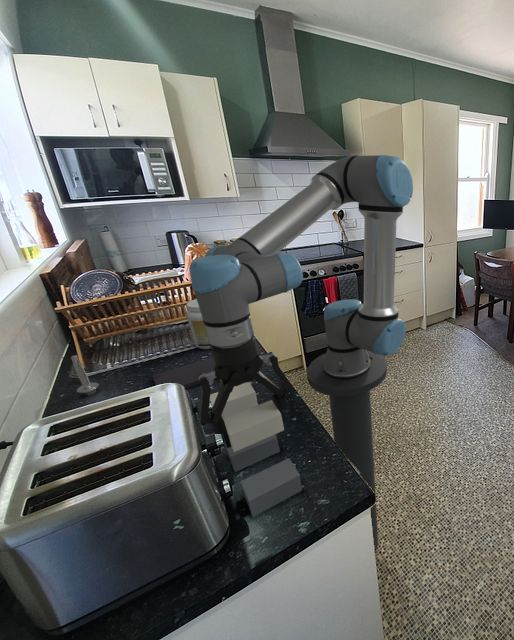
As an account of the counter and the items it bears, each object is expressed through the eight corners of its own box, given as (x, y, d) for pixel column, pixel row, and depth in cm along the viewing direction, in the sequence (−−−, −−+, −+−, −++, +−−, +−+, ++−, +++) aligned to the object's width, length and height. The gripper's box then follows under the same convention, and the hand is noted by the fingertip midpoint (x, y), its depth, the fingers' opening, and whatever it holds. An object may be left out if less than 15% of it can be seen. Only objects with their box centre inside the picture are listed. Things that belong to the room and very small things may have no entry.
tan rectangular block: (275, 415, 79) (271, 399, 77) (284, 430, 75) (281, 413, 73) (226, 435, 73) (221, 418, 71) (233, 452, 69) (228, 435, 67)
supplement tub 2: (238, 340, 135) (228, 300, 128) (206, 353, 126) (194, 310, 119) (220, 333, 141) (210, 293, 134) (188, 344, 131) (176, 303, 125)
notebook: (160, 397, 102) (237, 371, 115) (158, 393, 101) (236, 367, 114) (153, 379, 110) (226, 357, 124) (151, 375, 110) (225, 353, 123)
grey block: (272, 437, 88) (269, 423, 86) (280, 451, 84) (277, 437, 82) (228, 456, 82) (224, 442, 80) (234, 472, 78) (230, 457, 76)
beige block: (251, 395, 97) (248, 381, 95) (258, 405, 92) (255, 392, 91) (211, 409, 91) (207, 395, 89) (216, 421, 86) (212, 407, 85)
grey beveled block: (292, 472, 78) (289, 457, 76) (302, 490, 74) (299, 475, 72) (244, 496, 72) (240, 481, 70) (252, 517, 68) (248, 501, 66)
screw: (76, 399, 100) (84, 390, 104) (97, 396, 102) (104, 387, 106) (57, 361, 95) (66, 352, 99) (80, 358, 96) (88, 350, 100)
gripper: (160, 369, 55) (197, 470, 64) (300, 330, 68) (313, 418, 78) (156, 350, 60) (190, 446, 70) (286, 317, 74) (300, 402, 83)
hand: (255, 431), depth 74 cm, fingers closed on tan rectangular block, 10 cm apart
